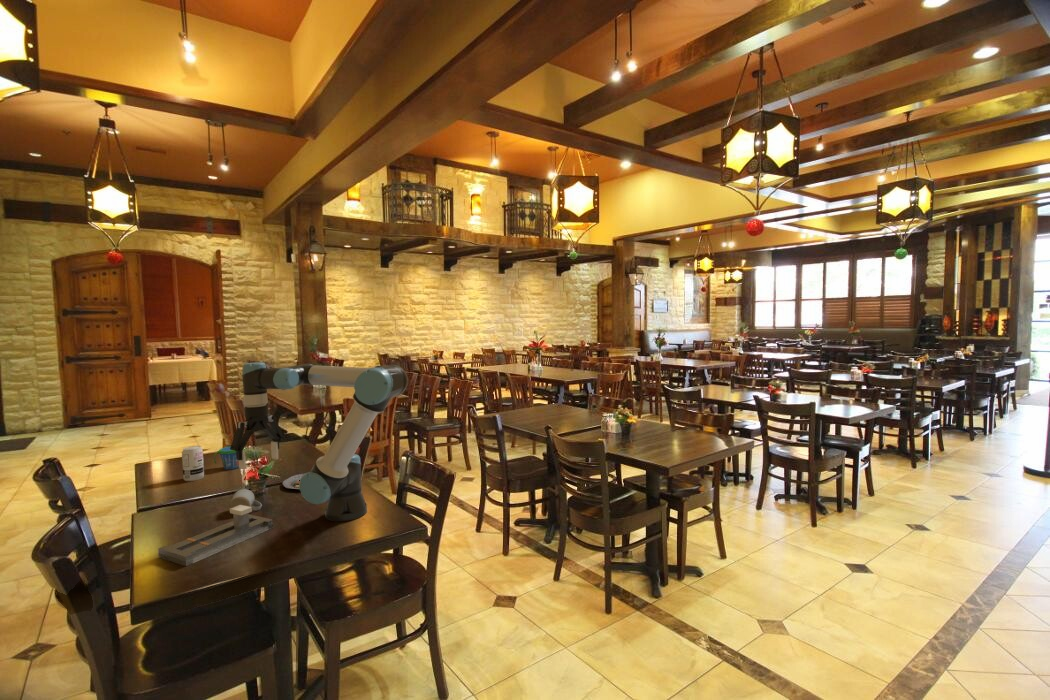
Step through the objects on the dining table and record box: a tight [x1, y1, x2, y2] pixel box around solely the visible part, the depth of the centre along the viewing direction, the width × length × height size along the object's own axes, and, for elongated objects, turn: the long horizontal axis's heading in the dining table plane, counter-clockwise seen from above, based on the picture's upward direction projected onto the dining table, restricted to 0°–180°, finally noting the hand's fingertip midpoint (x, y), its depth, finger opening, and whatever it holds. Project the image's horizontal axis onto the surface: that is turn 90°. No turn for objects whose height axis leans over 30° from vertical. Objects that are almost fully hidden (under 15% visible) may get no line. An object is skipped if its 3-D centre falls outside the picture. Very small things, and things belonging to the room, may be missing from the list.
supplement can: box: [181, 445, 205, 482], centre depth 234 cm, size 8×8×15 cm
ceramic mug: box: [229, 488, 263, 511], centre depth 194 cm, size 11×8×8 cm
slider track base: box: [157, 514, 274, 567], centre depth 166 cm, size 30×14×3 cm, turn 155°
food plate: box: [282, 472, 307, 491], centre depth 226 cm, size 25×23×4 cm
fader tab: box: [229, 505, 253, 529], centre depth 173 cm, size 4×6×7 cm, turn 65°
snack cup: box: [213, 445, 239, 470], centre depth 251 cm, size 16×10×10 cm
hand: (259, 463), depth 180 cm, fingers open, 12 cm apart
